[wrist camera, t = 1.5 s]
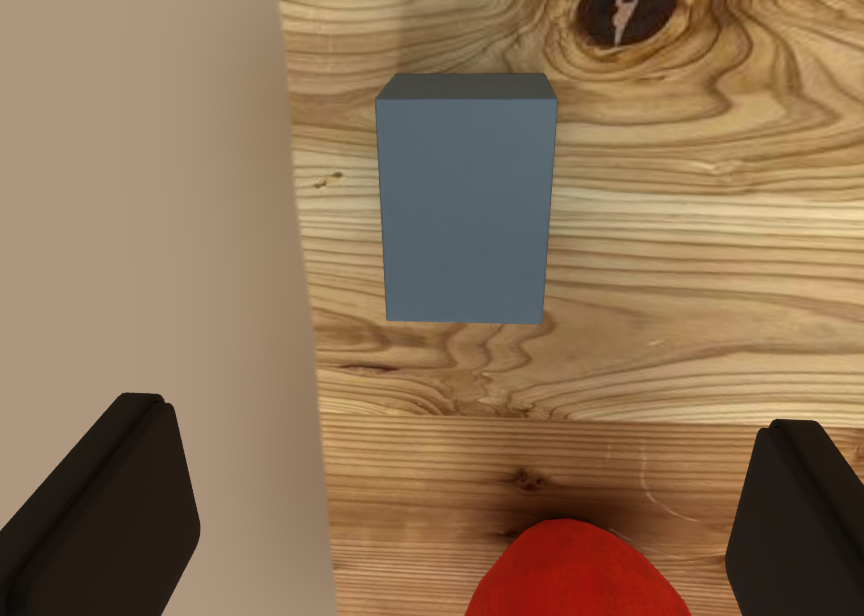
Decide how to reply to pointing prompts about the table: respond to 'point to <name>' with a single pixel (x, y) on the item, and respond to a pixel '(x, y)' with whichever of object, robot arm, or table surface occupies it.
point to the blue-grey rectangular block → (465, 195)
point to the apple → (573, 577)
